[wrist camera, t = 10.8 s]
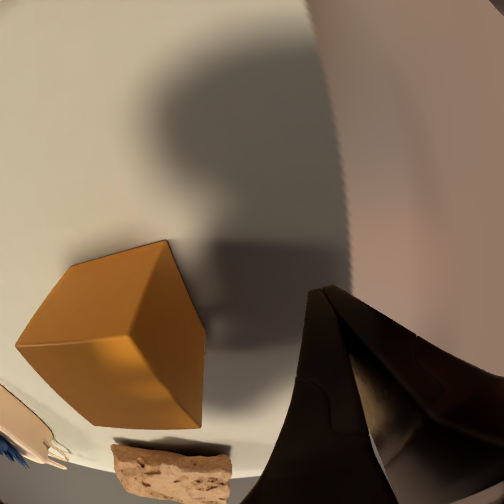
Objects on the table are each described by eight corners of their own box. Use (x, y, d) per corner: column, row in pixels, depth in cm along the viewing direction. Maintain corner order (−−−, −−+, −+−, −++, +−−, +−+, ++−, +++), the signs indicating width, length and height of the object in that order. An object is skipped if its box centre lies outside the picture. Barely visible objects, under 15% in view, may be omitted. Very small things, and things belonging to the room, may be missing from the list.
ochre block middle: (69, 266, 9) (12, 345, 5) (166, 238, 9) (128, 336, 5) (118, 345, 11) (93, 426, 7) (206, 333, 11) (202, 429, 7)
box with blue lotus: (-76, 391, 7) (29, 478, 16) (-57, 406, 6) (95, 505, 15) (-57, 355, 13) (37, 444, 22) (-28, 350, 12) (102, 459, 21)
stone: (216, 471, 22) (218, 509, 17) (110, 447, 18) (103, 488, 14) (256, 448, 18) (262, 498, 14) (116, 418, 15) (105, 475, 11)
